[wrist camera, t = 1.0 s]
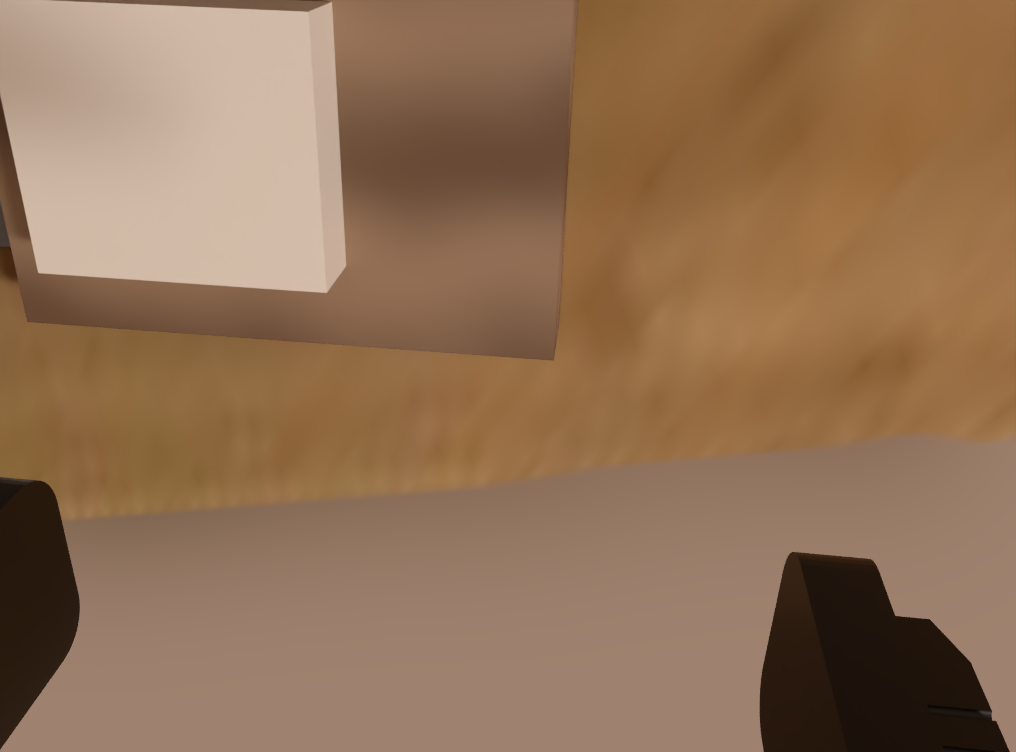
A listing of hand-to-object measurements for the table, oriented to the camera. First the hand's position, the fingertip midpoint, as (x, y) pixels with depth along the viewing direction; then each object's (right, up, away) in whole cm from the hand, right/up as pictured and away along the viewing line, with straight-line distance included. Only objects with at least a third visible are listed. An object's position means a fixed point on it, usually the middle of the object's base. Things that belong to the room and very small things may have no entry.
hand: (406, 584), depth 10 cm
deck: (-5, +10, +18) cm, 21 cm away
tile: (-7, +9, +16) cm, 20 cm away
